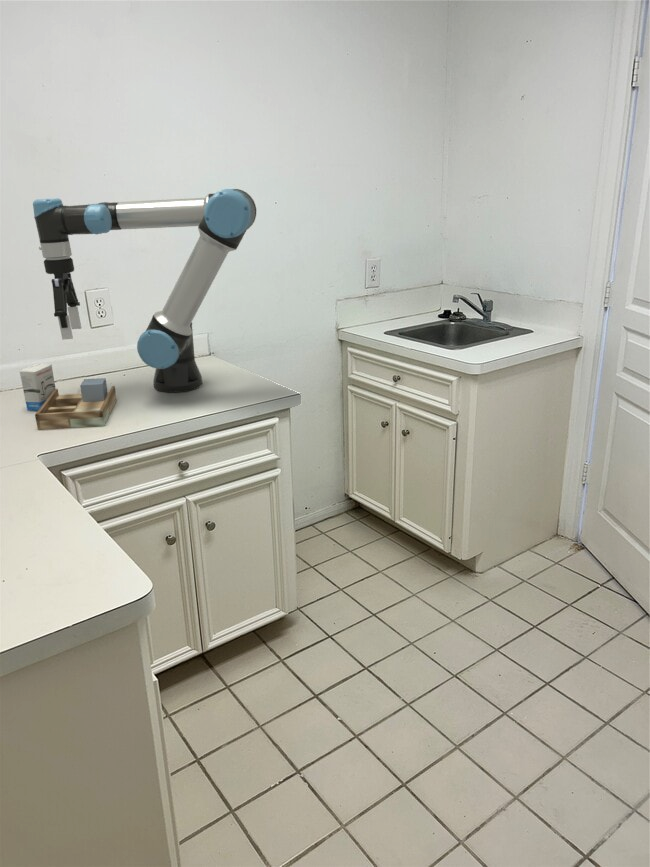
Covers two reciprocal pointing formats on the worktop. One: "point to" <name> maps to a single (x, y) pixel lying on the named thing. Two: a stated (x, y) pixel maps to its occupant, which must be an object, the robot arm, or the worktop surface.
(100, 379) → the block
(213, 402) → the worktop surface
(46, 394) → the ink box
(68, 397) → the wooden tray
